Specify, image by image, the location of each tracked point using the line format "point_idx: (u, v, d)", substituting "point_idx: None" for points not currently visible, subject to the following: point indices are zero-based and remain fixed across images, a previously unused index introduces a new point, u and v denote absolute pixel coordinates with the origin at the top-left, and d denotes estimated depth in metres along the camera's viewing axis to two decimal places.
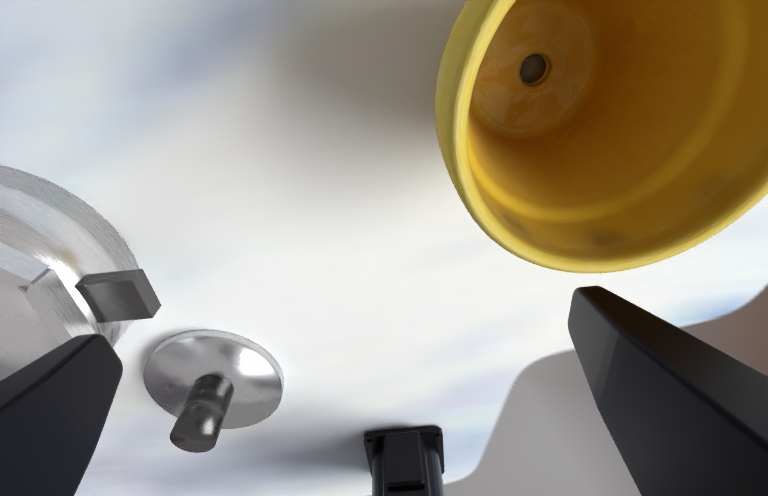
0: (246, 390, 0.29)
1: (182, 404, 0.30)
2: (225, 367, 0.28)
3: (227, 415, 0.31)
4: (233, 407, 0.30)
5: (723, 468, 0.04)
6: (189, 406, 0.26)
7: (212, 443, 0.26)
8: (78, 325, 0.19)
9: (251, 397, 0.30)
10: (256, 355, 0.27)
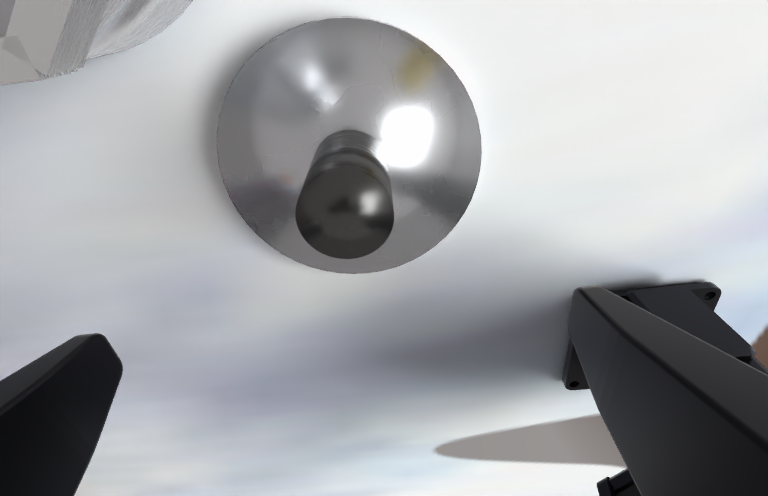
0: (412, 175, 0.15)
1: (283, 211, 0.16)
2: (384, 108, 0.14)
3: None
4: None
5: (723, 468, 0.04)
6: (330, 156, 0.12)
7: (384, 231, 0.12)
8: None
9: (416, 194, 0.15)
10: (455, 74, 0.13)
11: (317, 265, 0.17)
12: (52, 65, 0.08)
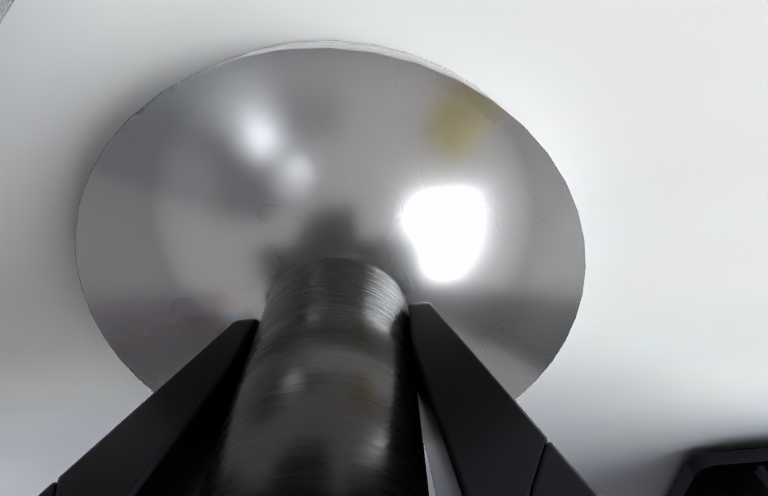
0: None
1: None
2: (403, 222, 0.07)
3: None
4: None
5: (450, 489, 0.05)
6: (281, 370, 0.05)
7: None
8: None
9: None
10: (550, 160, 0.06)
11: None
12: None
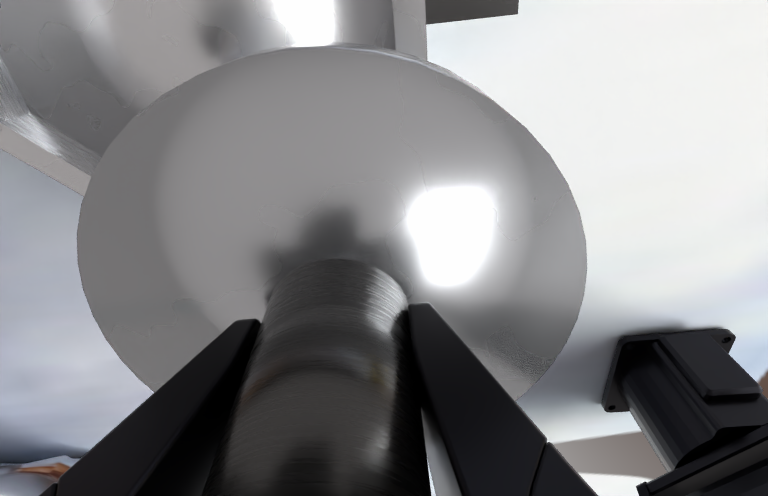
0: None
1: None
2: (405, 224, 0.07)
3: None
4: None
5: (450, 489, 0.05)
6: (284, 372, 0.05)
7: None
8: None
9: None
10: (552, 161, 0.06)
11: None
12: None
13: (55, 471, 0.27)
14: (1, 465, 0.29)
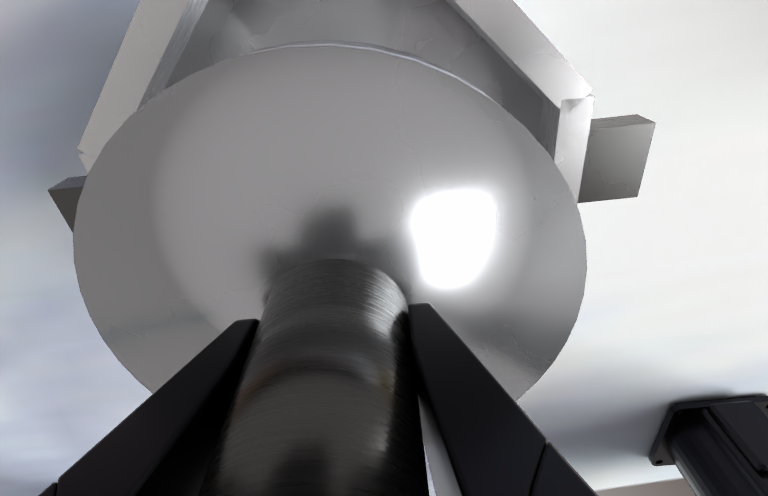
0: None
1: None
2: (403, 223, 0.07)
3: None
4: None
5: (450, 490, 0.05)
6: (280, 372, 0.05)
7: None
8: None
9: None
10: (551, 160, 0.06)
11: None
12: None
13: None
14: None
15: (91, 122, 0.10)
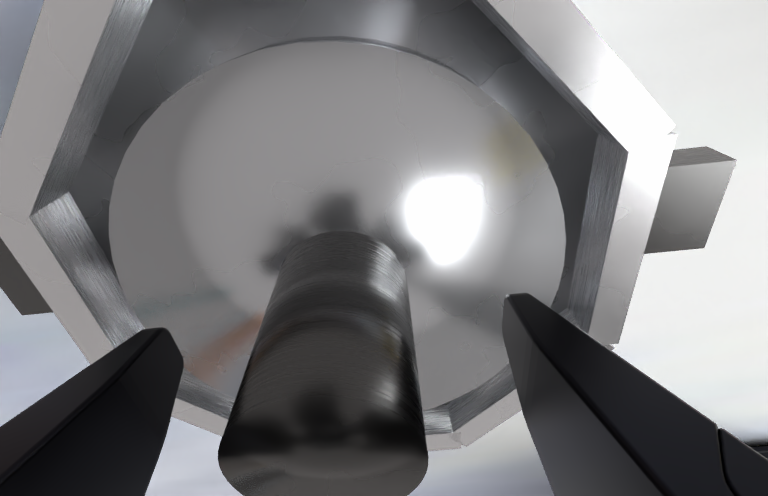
0: (445, 297, 0.09)
1: (234, 346, 0.10)
2: (402, 198, 0.08)
3: None
4: None
5: (608, 477, 0.04)
6: (297, 318, 0.06)
7: (407, 481, 0.06)
8: None
9: (450, 323, 0.09)
10: (532, 141, 0.07)
11: None
12: None
13: None
14: None
15: None
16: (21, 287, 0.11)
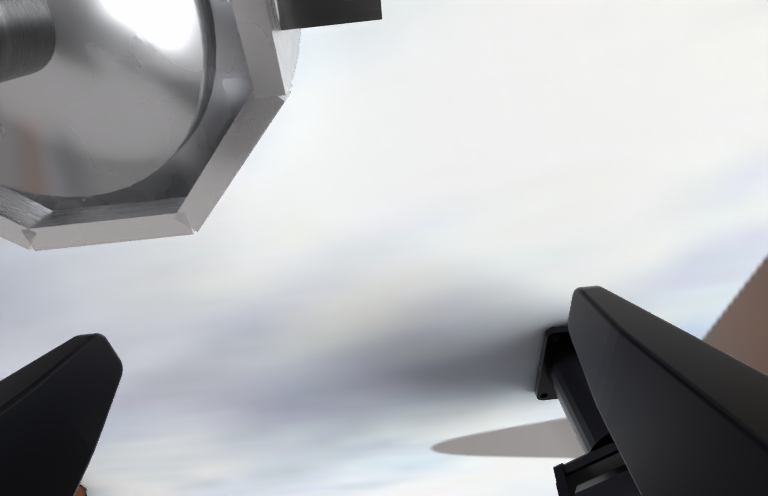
0: (94, 30, 0.10)
1: None
2: None
3: (59, 143, 0.11)
4: (68, 109, 0.11)
5: (723, 469, 0.04)
6: None
7: None
8: None
9: (114, 65, 0.10)
10: None
11: (8, 183, 0.12)
12: (201, 225, 0.13)
13: None
14: None
15: None
16: None
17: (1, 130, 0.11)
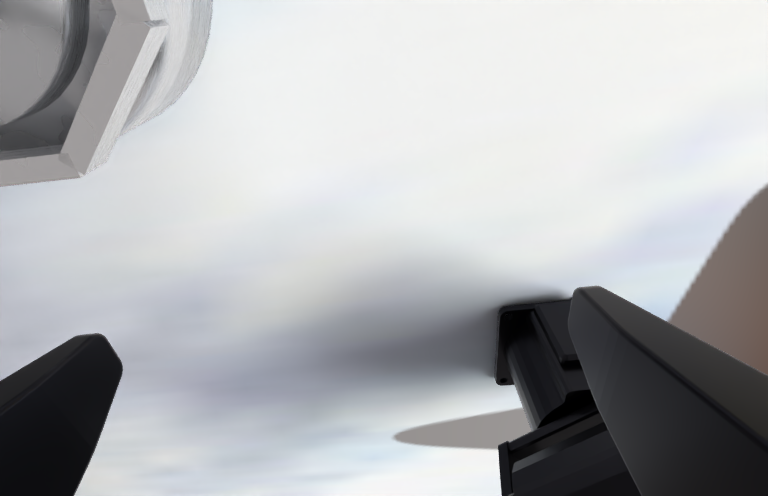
0: None
1: None
2: None
3: None
4: None
5: (723, 468, 0.04)
6: None
7: None
8: None
9: None
10: None
11: None
12: (88, 168, 0.13)
13: None
14: None
15: None
16: None
17: None
